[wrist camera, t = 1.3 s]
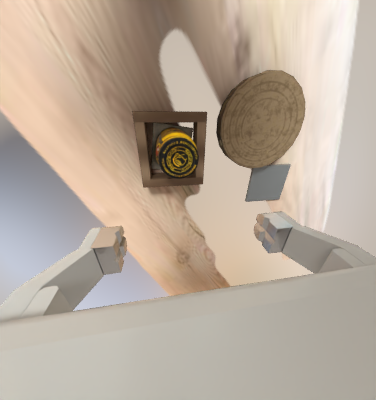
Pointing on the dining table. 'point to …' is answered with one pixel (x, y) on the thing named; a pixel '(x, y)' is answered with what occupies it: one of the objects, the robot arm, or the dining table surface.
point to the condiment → (174, 150)
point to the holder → (143, 148)
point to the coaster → (267, 182)
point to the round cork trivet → (261, 119)
